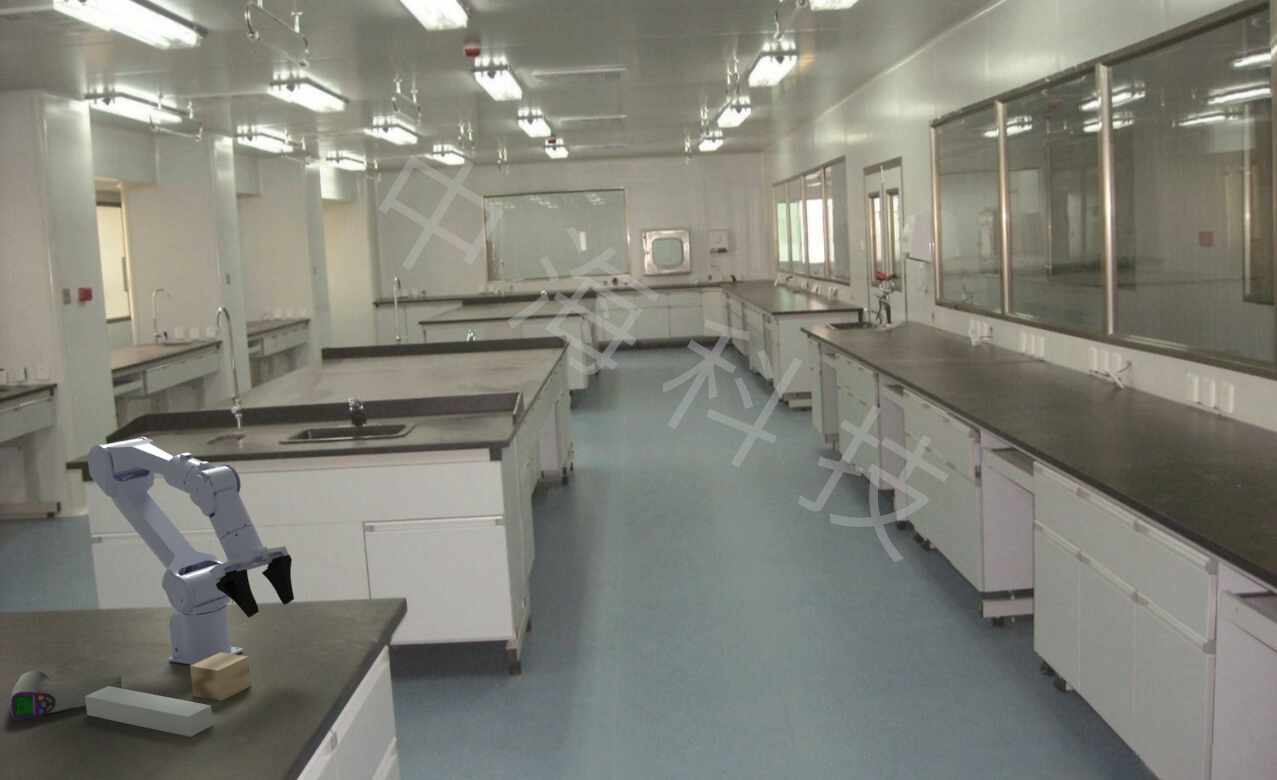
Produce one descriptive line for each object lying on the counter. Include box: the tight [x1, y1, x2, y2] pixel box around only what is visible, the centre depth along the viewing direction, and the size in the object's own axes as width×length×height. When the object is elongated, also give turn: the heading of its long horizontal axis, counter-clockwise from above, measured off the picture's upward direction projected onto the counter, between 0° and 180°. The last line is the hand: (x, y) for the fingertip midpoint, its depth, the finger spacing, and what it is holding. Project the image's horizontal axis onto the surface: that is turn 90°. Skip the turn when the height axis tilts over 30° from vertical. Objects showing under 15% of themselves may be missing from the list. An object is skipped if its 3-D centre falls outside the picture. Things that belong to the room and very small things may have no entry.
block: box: [189, 652, 252, 702], centre depth 164 cm, size 6×6×5 cm
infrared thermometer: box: [10, 670, 122, 721], centre depth 165 cm, size 5×12×15 cm
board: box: [85, 686, 214, 738], centre depth 155 cm, size 22×4×3 cm, turn 64°
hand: (271, 608), depth 169 cm, fingers open, 7 cm apart
